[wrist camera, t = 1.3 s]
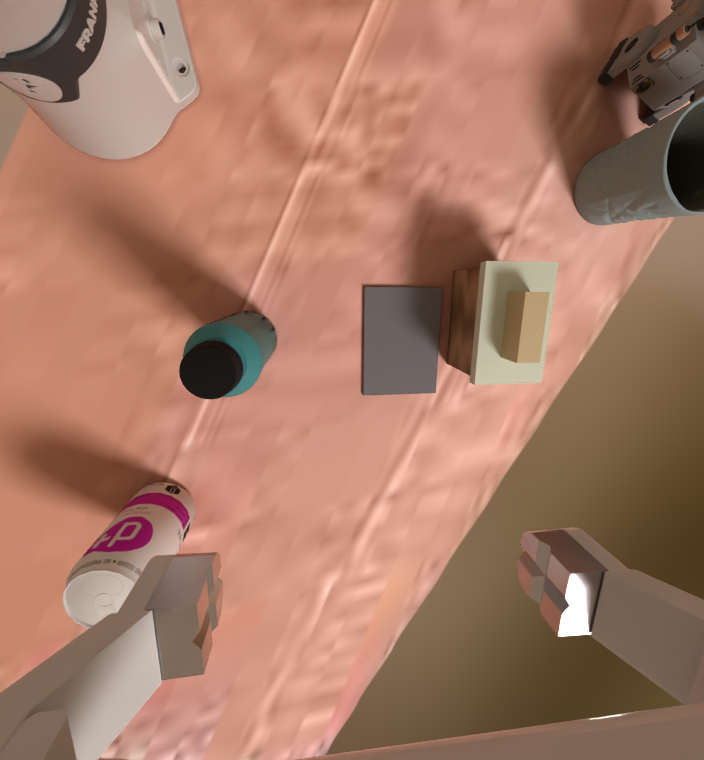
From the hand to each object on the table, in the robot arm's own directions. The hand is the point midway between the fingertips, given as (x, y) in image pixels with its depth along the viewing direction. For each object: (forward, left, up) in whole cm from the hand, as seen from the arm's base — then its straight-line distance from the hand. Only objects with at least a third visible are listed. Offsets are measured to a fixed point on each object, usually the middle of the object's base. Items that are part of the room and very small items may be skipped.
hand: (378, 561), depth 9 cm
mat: (-1, +10, -37) cm, 38 cm away
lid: (-4, +20, -29) cm, 35 cm away
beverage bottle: (-2, -9, -37) cm, 38 cm away
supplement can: (+21, -22, -37) cm, 48 cm away
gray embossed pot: (-20, +36, -37) cm, 55 cm away
